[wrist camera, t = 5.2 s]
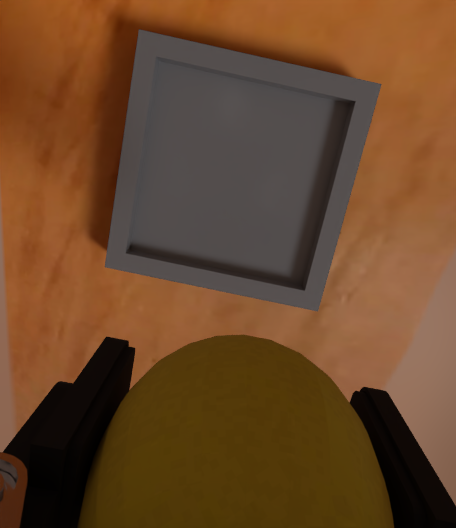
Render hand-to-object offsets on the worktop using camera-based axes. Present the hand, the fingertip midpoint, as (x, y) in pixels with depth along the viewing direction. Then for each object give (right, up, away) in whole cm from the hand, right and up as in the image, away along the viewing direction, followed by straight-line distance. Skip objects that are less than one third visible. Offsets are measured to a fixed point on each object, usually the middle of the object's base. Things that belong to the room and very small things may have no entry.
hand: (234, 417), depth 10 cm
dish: (0, +9, +13) cm, 16 cm away
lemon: (0, +1, +2) cm, 2 cm away
